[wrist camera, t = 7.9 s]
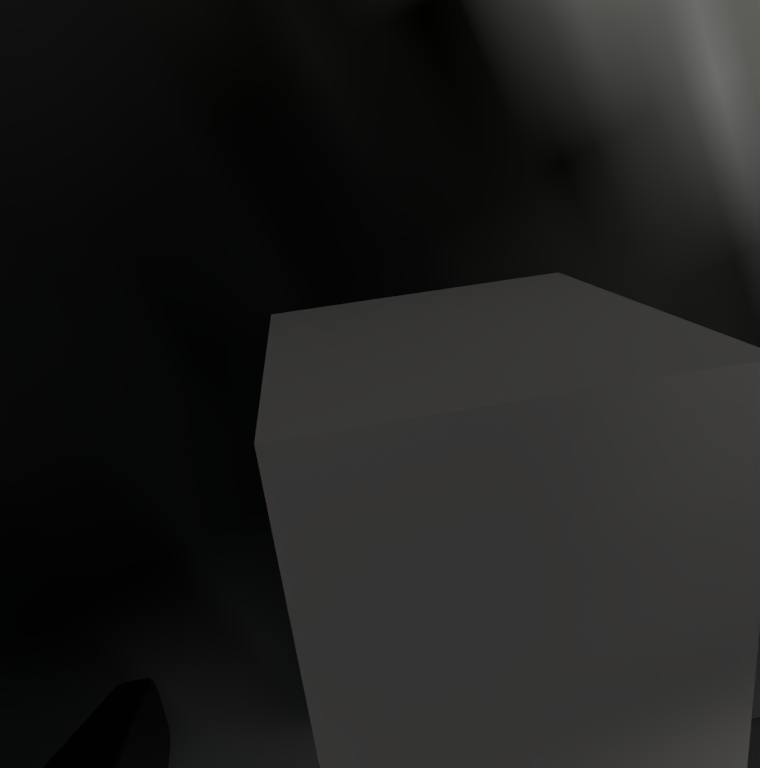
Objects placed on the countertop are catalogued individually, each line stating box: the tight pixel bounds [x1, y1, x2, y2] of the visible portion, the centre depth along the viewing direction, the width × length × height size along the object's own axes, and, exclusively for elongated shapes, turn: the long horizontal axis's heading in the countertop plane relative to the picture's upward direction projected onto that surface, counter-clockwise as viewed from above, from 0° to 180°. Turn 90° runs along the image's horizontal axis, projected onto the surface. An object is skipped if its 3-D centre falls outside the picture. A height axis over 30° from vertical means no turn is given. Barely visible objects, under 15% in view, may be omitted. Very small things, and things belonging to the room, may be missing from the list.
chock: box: [254, 272, 760, 768], centre depth 9 cm, size 5×8×5 cm, turn 7°
